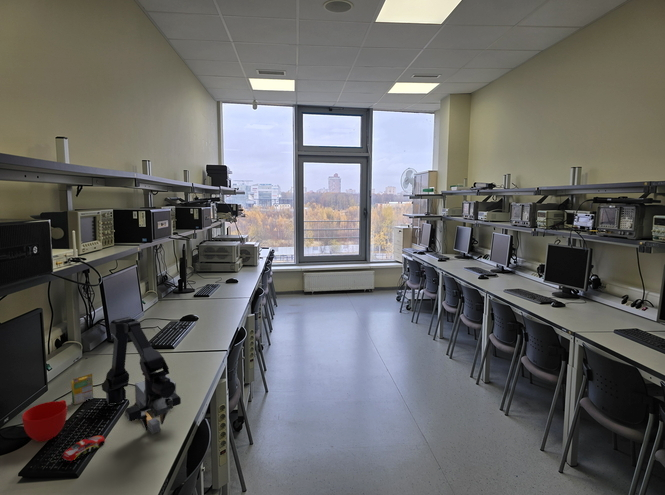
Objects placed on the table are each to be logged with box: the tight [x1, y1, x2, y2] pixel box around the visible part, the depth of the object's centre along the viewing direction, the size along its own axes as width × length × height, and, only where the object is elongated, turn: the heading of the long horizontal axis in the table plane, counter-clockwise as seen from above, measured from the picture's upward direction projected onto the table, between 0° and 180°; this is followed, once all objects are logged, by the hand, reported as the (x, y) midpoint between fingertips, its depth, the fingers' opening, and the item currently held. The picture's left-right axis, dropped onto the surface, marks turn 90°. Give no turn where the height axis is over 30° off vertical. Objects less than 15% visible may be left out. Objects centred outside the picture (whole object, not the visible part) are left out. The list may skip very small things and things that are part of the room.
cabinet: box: [134, 374, 177, 408], centre depth 163 cm, size 13×11×9 cm
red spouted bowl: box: [21, 399, 68, 443], centre depth 140 cm, size 13×17×10 cm
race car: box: [62, 435, 106, 462], centre depth 132 cm, size 13×5×4 cm, turn 155°
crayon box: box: [70, 373, 94, 406], centre depth 163 cm, size 7×3×12 cm, turn 141°
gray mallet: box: [145, 411, 161, 435], centre depth 149 cm, size 3×15×4 cm, turn 45°
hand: (154, 426), depth 145 cm, fingers open, 5 cm apart
